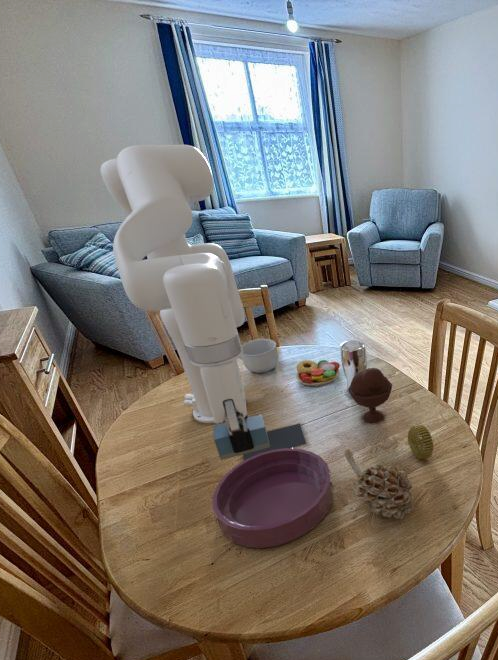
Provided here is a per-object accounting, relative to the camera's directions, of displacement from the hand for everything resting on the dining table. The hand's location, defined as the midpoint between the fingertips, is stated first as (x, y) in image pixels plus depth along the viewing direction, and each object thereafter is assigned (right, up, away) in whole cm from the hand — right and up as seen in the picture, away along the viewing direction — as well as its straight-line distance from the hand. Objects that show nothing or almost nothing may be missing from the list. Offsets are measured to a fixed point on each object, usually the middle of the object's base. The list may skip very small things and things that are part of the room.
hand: (243, 440), depth 72 cm
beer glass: (+12, +8, +47) cm, 49 cm away
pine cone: (+21, -13, +12) cm, 28 cm away
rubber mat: (-5, -4, +27) cm, 28 cm away
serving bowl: (+2, -14, +10) cm, 18 cm away
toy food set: (-2, +12, +54) cm, 56 cm away
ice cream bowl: (+18, +1, +36) cm, 40 cm away
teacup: (-22, +15, +59) cm, 65 cm away
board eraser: (0, -1, +1) cm, 1 cm away
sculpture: (+31, -7, +23) cm, 39 cm away
